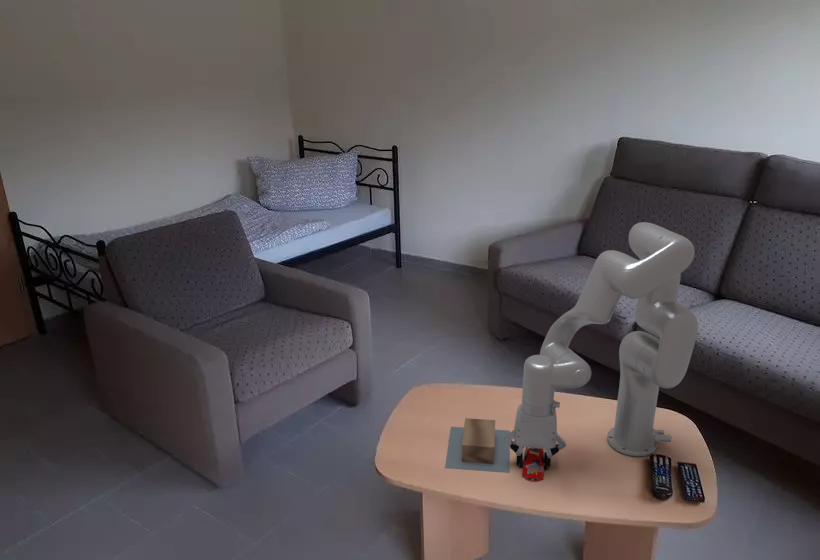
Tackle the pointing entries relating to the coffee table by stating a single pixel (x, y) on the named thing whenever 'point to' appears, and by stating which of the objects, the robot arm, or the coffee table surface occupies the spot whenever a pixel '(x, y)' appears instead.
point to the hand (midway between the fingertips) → (532, 466)
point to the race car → (533, 464)
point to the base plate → (499, 463)
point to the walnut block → (478, 441)
